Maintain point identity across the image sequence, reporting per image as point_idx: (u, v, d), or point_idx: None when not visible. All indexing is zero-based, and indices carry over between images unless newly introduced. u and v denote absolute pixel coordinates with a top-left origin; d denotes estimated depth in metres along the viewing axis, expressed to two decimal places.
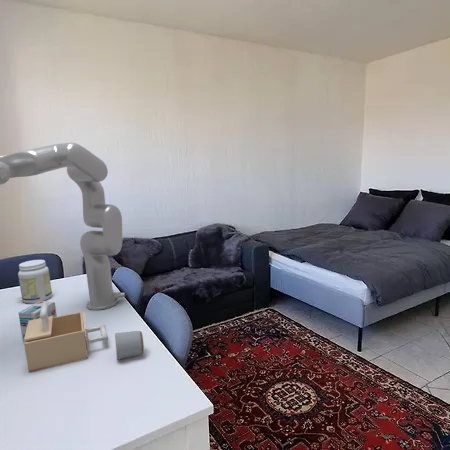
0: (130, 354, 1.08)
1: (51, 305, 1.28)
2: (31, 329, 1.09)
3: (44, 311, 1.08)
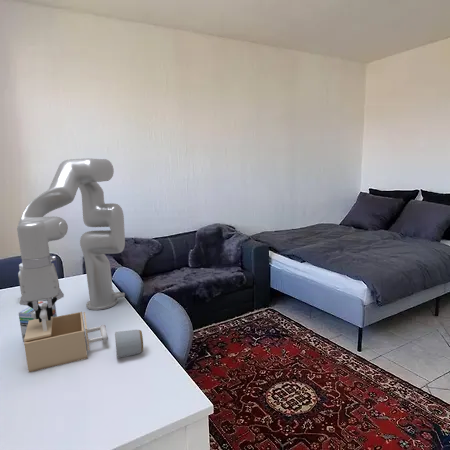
0: (130, 353, 1.09)
1: None
2: (31, 329, 1.09)
3: (44, 311, 1.08)
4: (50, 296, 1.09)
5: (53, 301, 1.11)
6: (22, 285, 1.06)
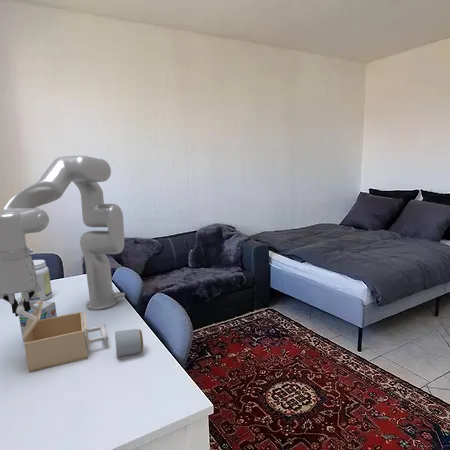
0: (130, 352, 1.09)
1: (51, 305, 1.28)
2: (27, 325, 1.09)
3: (18, 307, 1.05)
4: (27, 289, 1.06)
5: (30, 295, 1.08)
6: None
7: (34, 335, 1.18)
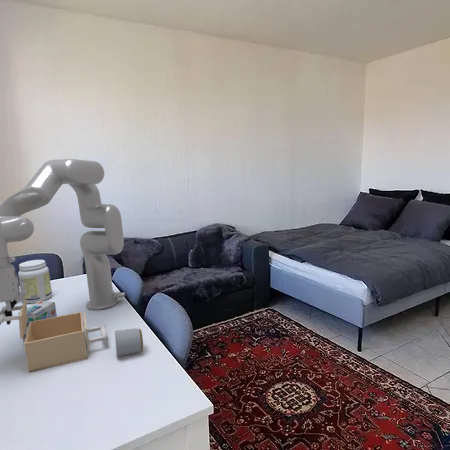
0: (130, 351, 1.09)
1: (51, 305, 1.28)
2: None
3: None
4: (9, 299, 1.05)
5: (12, 304, 1.06)
6: None
7: (34, 335, 1.18)
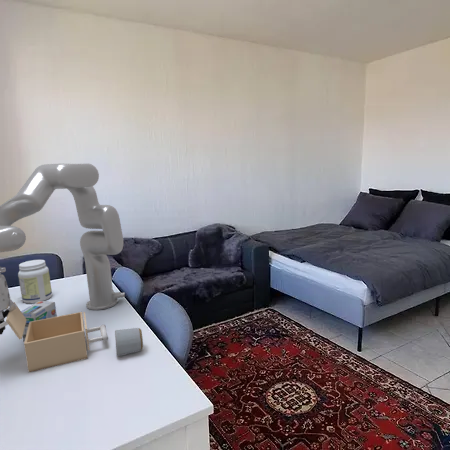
0: (129, 351, 1.10)
1: (51, 305, 1.28)
2: None
3: None
4: None
5: (4, 314, 1.06)
6: None
7: (34, 335, 1.18)
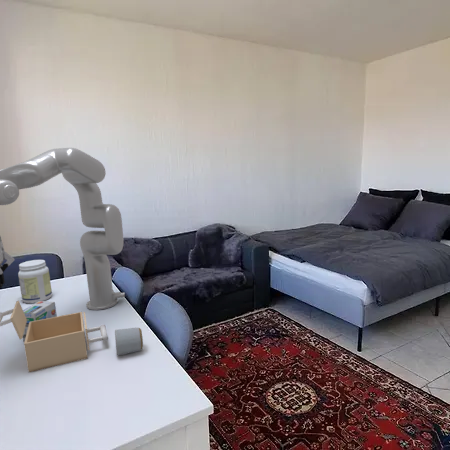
0: (129, 350, 1.10)
1: (51, 305, 1.28)
2: None
3: None
4: None
5: (2, 267, 1.04)
6: None
7: (34, 335, 1.18)
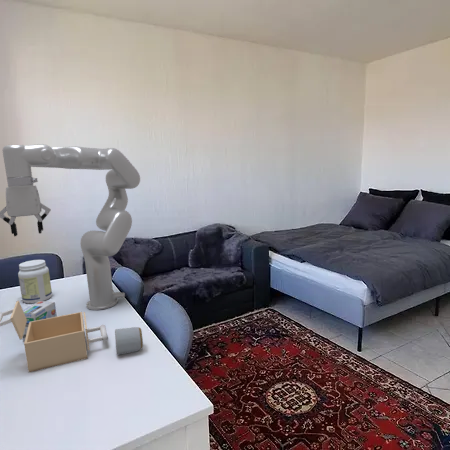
0: (129, 350, 1.10)
1: (51, 305, 1.28)
2: None
3: None
4: (32, 213, 1.23)
5: None
6: (7, 201, 1.19)
7: (34, 335, 1.18)
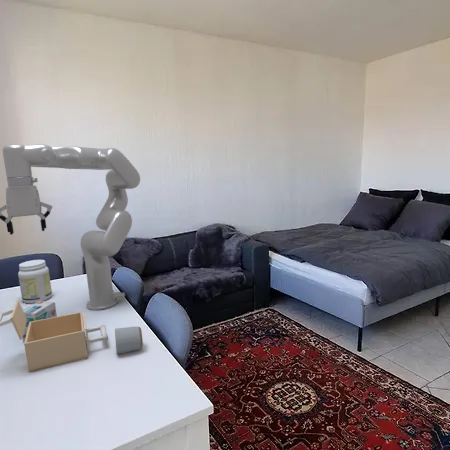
0: (129, 349, 1.11)
1: (51, 305, 1.28)
2: None
3: None
4: (32, 213, 1.23)
5: None
6: (7, 201, 1.19)
7: (34, 335, 1.18)
